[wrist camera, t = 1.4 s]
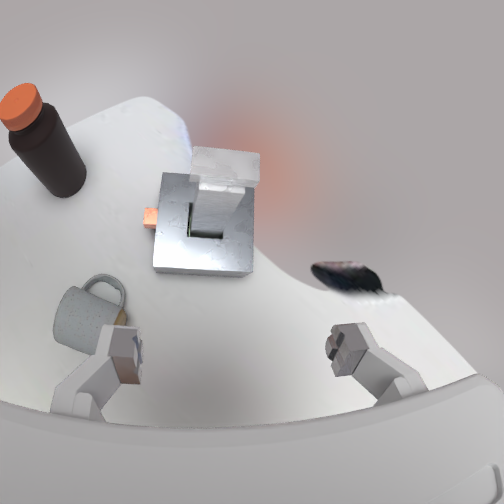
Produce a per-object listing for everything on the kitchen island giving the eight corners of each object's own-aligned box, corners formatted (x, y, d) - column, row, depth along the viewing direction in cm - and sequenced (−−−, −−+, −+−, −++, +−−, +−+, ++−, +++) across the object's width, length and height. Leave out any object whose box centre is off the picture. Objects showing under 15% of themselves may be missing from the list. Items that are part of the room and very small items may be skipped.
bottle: (81, 199, 39) (29, 126, 20) (43, 197, 38) (-19, 130, 19) (91, 159, 41) (54, 73, 22) (54, 157, 39) (7, 79, 20)
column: (182, 244, 42) (189, 181, 21) (184, 218, 42) (194, 138, 22) (219, 246, 43) (259, 188, 23) (220, 221, 44) (259, 146, 23)
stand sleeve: (144, 271, 40) (139, 265, 34) (153, 189, 42) (150, 170, 36) (242, 277, 43) (253, 272, 37) (244, 196, 45) (254, 180, 39)
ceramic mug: (119, 359, 37) (107, 368, 29) (66, 339, 35) (45, 343, 28) (139, 286, 39) (131, 280, 32) (86, 267, 38) (69, 257, 31)
